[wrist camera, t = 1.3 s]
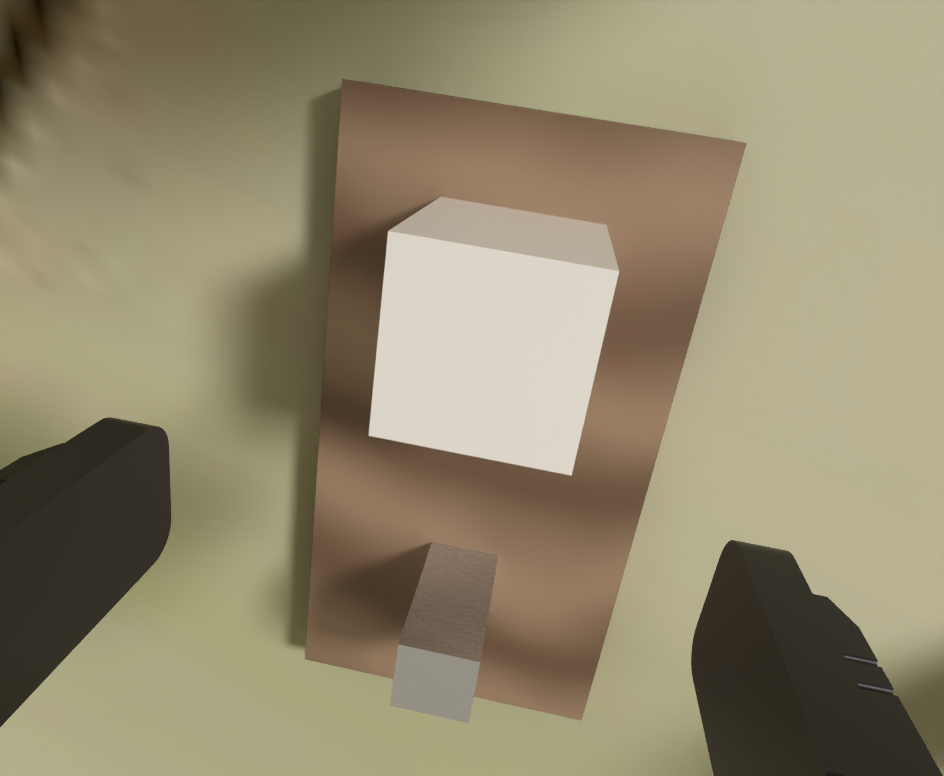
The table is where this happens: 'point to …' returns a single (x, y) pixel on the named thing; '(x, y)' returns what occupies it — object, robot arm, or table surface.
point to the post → (445, 633)
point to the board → (482, 480)
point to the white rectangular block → (491, 332)
